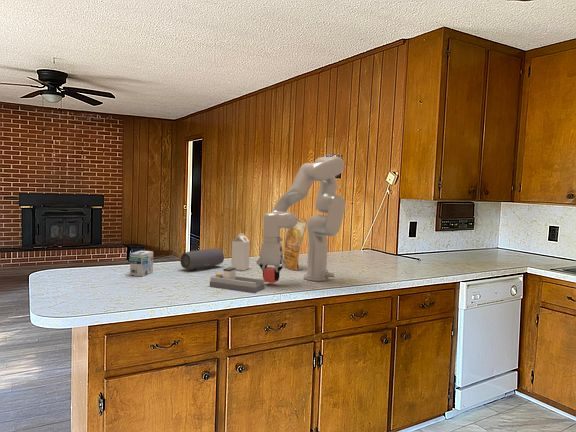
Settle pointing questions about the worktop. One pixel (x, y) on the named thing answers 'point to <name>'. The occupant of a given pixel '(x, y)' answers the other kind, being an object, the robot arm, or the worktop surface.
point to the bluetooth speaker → (201, 259)
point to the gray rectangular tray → (237, 283)
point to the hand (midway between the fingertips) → (271, 279)
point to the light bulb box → (141, 263)
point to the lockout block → (269, 275)
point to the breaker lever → (229, 273)
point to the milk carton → (240, 252)
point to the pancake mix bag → (294, 244)
